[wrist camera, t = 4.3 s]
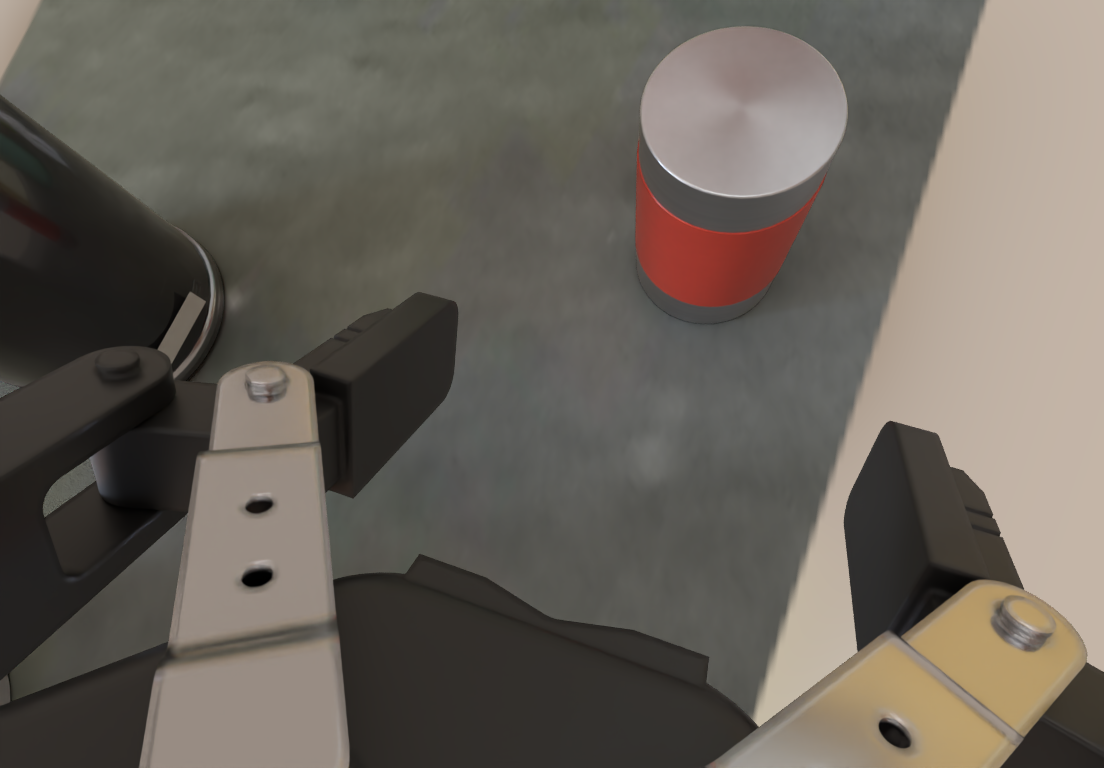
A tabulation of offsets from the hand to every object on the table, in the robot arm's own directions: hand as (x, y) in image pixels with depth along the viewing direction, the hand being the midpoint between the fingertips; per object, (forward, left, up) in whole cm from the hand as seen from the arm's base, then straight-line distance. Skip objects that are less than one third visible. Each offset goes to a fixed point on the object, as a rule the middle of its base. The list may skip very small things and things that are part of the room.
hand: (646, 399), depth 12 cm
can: (0, +11, -15) cm, 18 cm away
